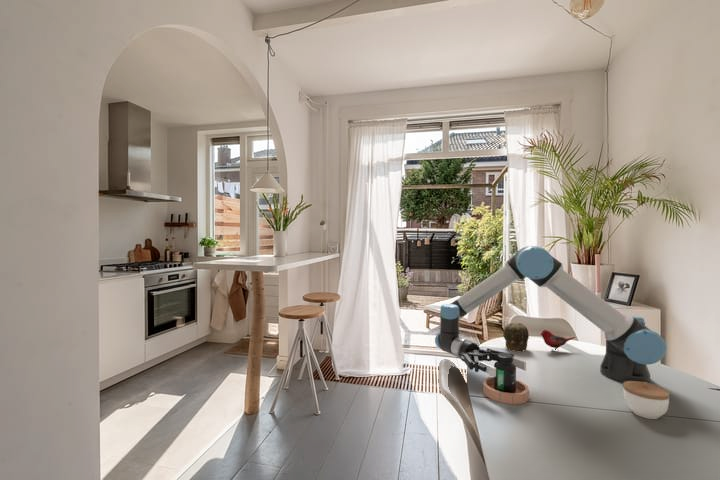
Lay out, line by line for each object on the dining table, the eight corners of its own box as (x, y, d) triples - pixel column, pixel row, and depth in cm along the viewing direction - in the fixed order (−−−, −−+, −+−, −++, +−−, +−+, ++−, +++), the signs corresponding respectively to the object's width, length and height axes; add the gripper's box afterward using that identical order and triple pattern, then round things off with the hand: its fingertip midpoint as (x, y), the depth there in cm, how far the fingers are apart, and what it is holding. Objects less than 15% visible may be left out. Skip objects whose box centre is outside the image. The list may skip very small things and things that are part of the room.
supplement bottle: (501, 396, 111) (502, 359, 111) (489, 387, 118) (490, 352, 118) (520, 394, 112) (520, 358, 112) (507, 385, 119) (507, 351, 119)
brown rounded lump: (529, 347, 165) (530, 322, 165) (527, 353, 155) (527, 327, 155) (505, 343, 170) (505, 319, 170) (501, 349, 161) (501, 324, 161)
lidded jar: (679, 425, 96) (679, 392, 96) (635, 421, 98) (635, 388, 98) (654, 407, 106) (654, 376, 106) (615, 403, 108) (615, 374, 108)
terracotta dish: (536, 395, 114) (536, 386, 114) (515, 408, 105) (515, 398, 105) (496, 381, 125) (496, 373, 125) (475, 392, 116) (475, 383, 116)
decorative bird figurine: (538, 350, 160) (538, 329, 160) (573, 349, 162) (573, 328, 162) (542, 352, 157) (542, 330, 157) (577, 351, 159) (577, 329, 159)
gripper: (490, 355, 137) (536, 374, 118) (439, 364, 127) (481, 387, 108) (490, 336, 137) (536, 352, 118) (439, 344, 127) (481, 363, 108)
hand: (510, 369), depth 113 cm, fingers open, 13 cm apart
